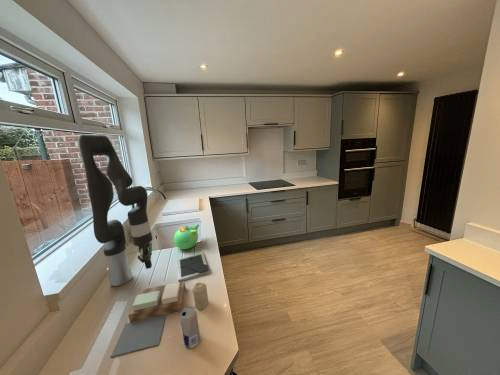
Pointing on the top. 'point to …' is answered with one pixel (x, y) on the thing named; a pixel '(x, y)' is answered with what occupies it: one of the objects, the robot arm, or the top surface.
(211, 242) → the top surface
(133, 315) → the thick wooden panel
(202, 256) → the picture frame
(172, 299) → the cream block
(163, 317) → the mat
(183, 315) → the energy drink
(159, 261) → the top surface
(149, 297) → the sage green block
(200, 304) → the candle
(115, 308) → the top surface
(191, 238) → the toy bird
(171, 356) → the top surface
